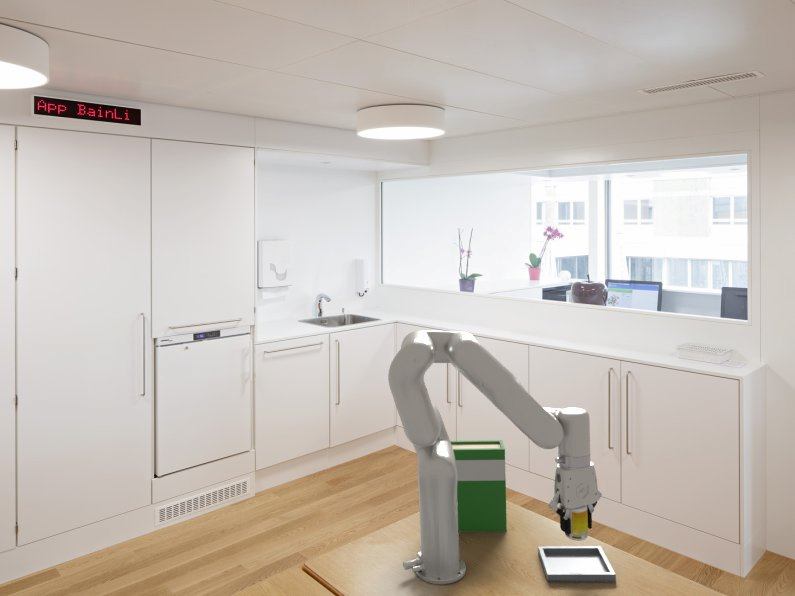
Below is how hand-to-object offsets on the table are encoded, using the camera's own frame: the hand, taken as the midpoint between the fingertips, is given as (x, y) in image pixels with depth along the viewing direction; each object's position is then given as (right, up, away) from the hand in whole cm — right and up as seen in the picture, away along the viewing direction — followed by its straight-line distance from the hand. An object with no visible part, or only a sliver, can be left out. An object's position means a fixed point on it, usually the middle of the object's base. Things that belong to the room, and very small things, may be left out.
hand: (576, 528), depth 147 cm
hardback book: (-22, -9, +25) cm, 34 cm away
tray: (0, -10, +1) cm, 10 cm away
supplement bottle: (0, -2, 0) cm, 2 cm away
